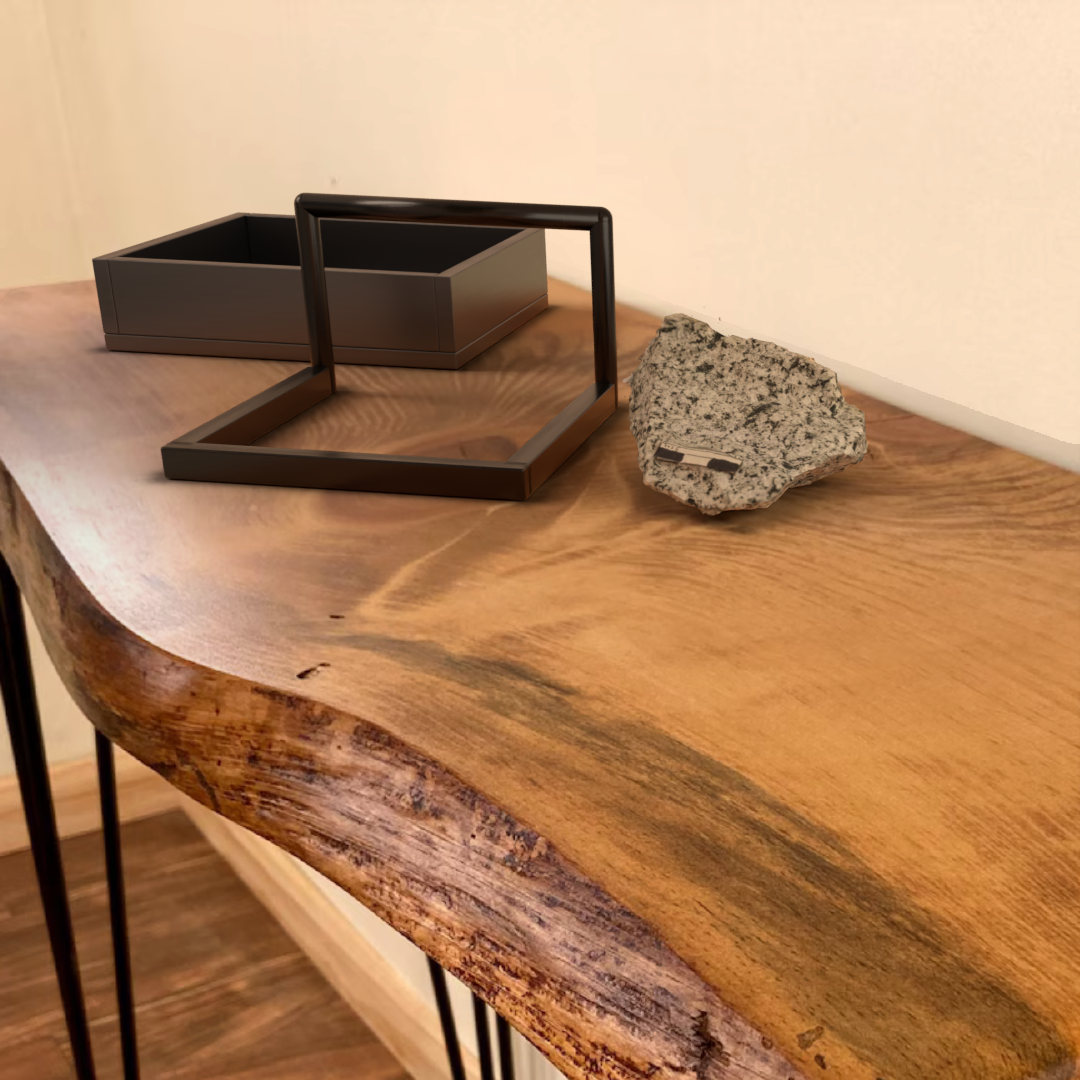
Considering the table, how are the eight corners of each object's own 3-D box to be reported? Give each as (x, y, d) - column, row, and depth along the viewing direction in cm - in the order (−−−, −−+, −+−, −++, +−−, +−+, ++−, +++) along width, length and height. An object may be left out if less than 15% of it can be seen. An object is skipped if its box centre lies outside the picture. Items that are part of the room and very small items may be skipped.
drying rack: (163, 478, 67) (128, 243, 63) (319, 388, 81) (298, 190, 77) (525, 501, 66) (512, 263, 62) (620, 405, 80) (614, 205, 76)
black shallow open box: (105, 350, 87) (91, 258, 85) (246, 291, 101) (237, 212, 99) (457, 370, 85) (450, 276, 83) (548, 307, 100) (545, 227, 98)
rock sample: (567, 416, 61) (678, 224, 64) (553, 506, 69) (653, 330, 71) (832, 558, 63) (931, 363, 65) (790, 631, 70) (881, 453, 72)
